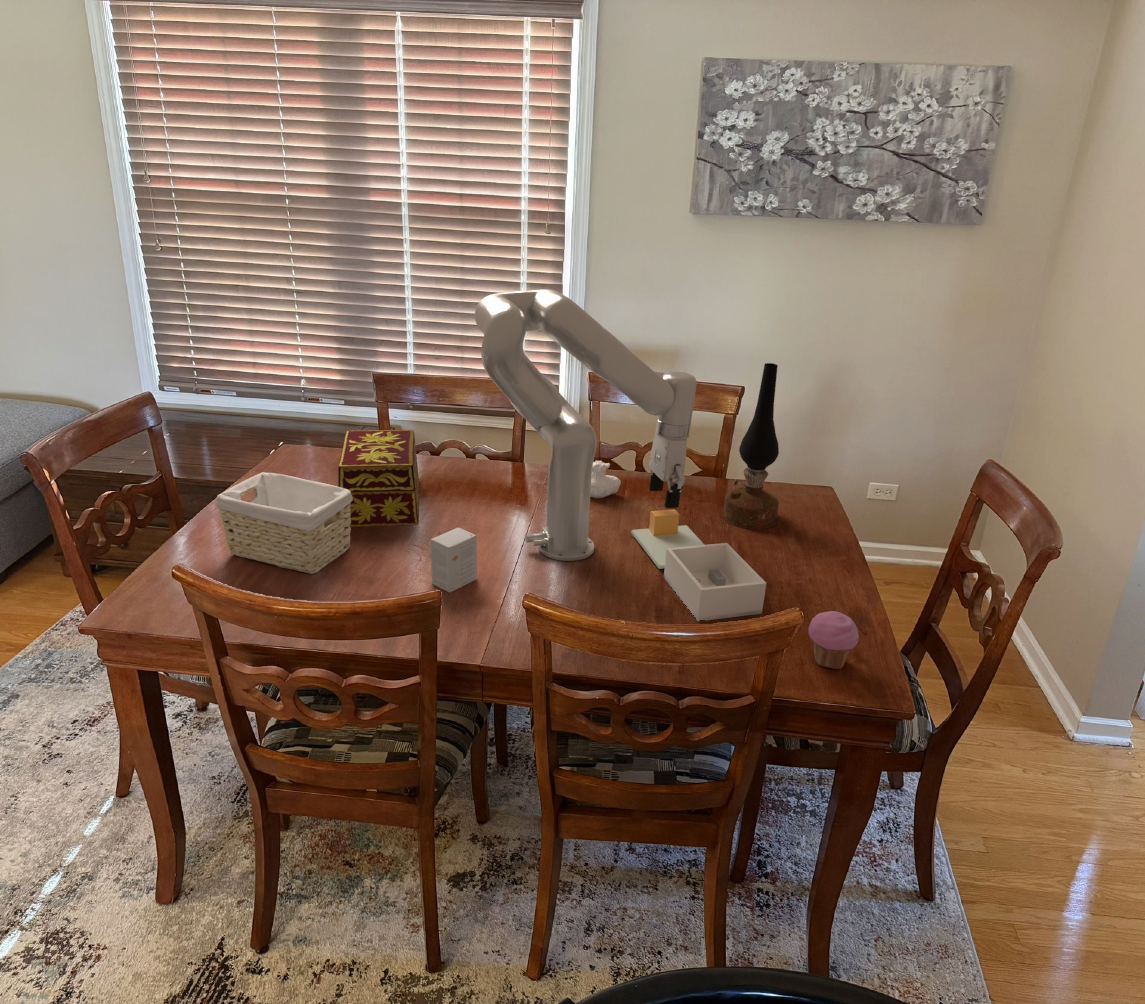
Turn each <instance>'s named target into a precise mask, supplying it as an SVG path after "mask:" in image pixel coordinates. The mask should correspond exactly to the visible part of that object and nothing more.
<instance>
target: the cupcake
mask: <svg viewBox="0 0 1145 1004" xmlns="http://www.w3.org/2000/svg"><path fill="white" fill-rule="evenodd" d="M807 630H808V636H809V638H810V639H811V641H813V655H814V660H815V662H816V663H817V665H819V666H821V667H824V668H830V669H835V670H840V669H842V668H843V667H844V666H845V663H846V660H847V657H848V656H849V653H850V651H851V650H852V649H854V648H855V647H856V646H857V644H858V642H859V640H860V635H859V631H858V630H859V629H858V626H857V624H856V623H855V621H854V620H853V619H852V618H851V617H850V616H848V615H846V614H844V613H842V612H839V611H835V610H829V611H824V612H820V613H817V614H816V615H815V616H814V617H813V618H812V620H811V621H810V624H809V626H808V629H807Z"/></svg>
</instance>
